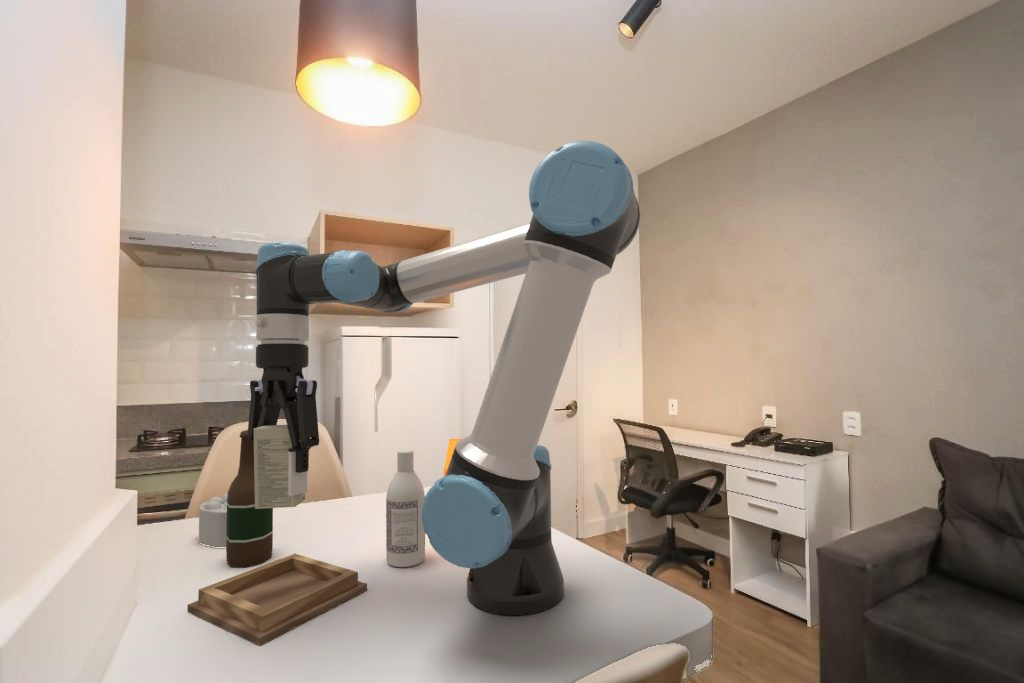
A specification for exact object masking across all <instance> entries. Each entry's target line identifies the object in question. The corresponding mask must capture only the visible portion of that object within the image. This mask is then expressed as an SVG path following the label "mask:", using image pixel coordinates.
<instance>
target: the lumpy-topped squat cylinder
mask: <svg viewBox="0 0 1024 683" xmlns="http://www.w3.org/2000/svg"><path fill="white" fill-rule="evenodd" d="M227 495H228V492H227V493H224V494H222V495H221V496H220V497H219V496H212V497H210V498H209V499H208V501H205V502H203V503H201V504H200V505H199V508H198V543H199V542H200V543H202V544H205V545H209V546H214V547H226V530H227Z"/></svg>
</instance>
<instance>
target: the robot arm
mask: <svg viewBox="0 0 1024 683" xmlns="http://www.w3.org/2000/svg"><path fill="white" fill-rule="evenodd" d="M633 182H634V181H633V177H632V174H631V172H630V169H629V167H628V166H627V165H626V163H625V161H624V160H623V159H622V158H621V156H620V155H619V154H618V153H617V152H616V151H615V150H614V149H612V148H611V147H609V146H607V145H605V144H604V143H601V142H596V141H593V140H576V141H571V142H569V143H565V144H563V145H561V146H559V147H558V148H556V149H554V150H552V151H550V152H549V153H548V154H546V156H544V158H542V159H541V161H540V162H539V163H538V165H537V166H536V168H535V170H534V171H533V173H532V176H531V178H530V183H529V188H528V199H529V206H530V210H531V212H532V217H531V220H530V222H527V223H522V224H519V225H517V226H514V227H509V228H507V229H504V230H501V231H497V232H493V233H490V234H487V235H483V236H481V237H477V238H473V239H471V240H467V241H464V242H461V243H457V244H453V245H450V246H447V247H444V248H441V249H437V250H435V251H433V250H432V251H431V252H428V253H424V254H420V255H418V256H413V257H411V258H406V259H405V260H404V259H403V260H401V261H398V262H395V263H391V264H387V265H379V264H377V263H376V261H375V260H374V259H372V258H371V257H372V256H371V255H370V254H369V253H367V252H366V251H362V250H346V249H345V250H344V249H343V250H340V251H338V250H337V251H334V252H327V253H326V252H325V253H317V254H310V253H309V250H308V249H307V248H306V247H305V246H303V245H301V244H297V243H294V242H293V243H292V242H267V243H264V244H262V245H260V246H259V248H258V250H257V259H256V260H257V261H256V268H255V276H256V321H255V325H256V334H255V335H256V338H255V339H256V340H257V341H258V342H260V344H257V345H256V346H255V367H256V368H258V369H263V373H262V376H261V379H259V380H258V379H257V380H256V379H255V380H250V382H249V389H250V390H249V392H250V400H249V401H250V404H249V415H248V426H247V430H248V434H247V440H248V441H249V442H251V441H252V442H254V428H258V427H261V426H266V425H278V420H279V416H280V414H281V409H282V411H283V412H284V418H285V421H286V422H285V423H286V425H287V427H288V431H289V435H290V440H291V444H292V448H290V449H288V451H289V452H288V496H294V495H298V494H301V493H305V494H306V493H308V472H309V461H310V460H309V459H310V458H309V456H310V454H309V453H310V449H311V448H313V447H317V446H319V445H320V436H319V435H320V434H319V425H318V424H319V422H318V410H317V408H318V407H317V399H316V395H317V388H318V382H317V380H315V379H313V380H307V379H305V377H304V374H303V369H305V368H307V367H308V366H309V350H310V349H309V346H308V345H307V344H305V342H308V341H309V340H310V321H309V320H310V319H309V318H310V314H309V313H310V312H309V311H310V305H315V304H316V305H317V304H342V305H347V306H353V307H359V308H366V309H370V310H374V311H375V310H376V311H379V312H383V313H387V314H388V313H389V314H390V313H403V312H405V311H407V310H409V309H410V308H411V306H412V305H413V304H416V303H419V302H423V301H427V300H431V299H434V298H439V297H442V296H446V295H450V294H454V293H457V292H461V291H464V290H468V289H472V288H476V287H480V286H483V285H487V284H491V283H496V282H498V281H502V280H507V279H510V278H514V277H517V276H522V275H524V274H525V275H524V278H523V281H522V284H521V287H520V289H519V293H518V296H517V299H516V301H515V305H514V308H513V310H512V313H511V315H510V316H511V317H510V320H509V322H508V324H507V325H508V326H507V328H506V331H505V334H504V337H503V340H502V343H501V346H500V349H499V352H498V355H497V357H496V360H495V364H494V366H493V370H492V372H491V376H490V378H489V380H488V381H489V382H488V384H487V388H486V391H485V393H484V396H483V400H482V403H481V406H480V408H479V411H478V414H477V417H476V420H475V423H474V426H473V429H472V431H471V433H470V434H469V435H468V436H465V437H464V438H460V439H461V440H459V441H458V442H457V443H456V446H455V449H454V452H453V454H452V457H451V460H450V463H449V466H448V469H447V472H446V475H445V477H444V476H442V477H441V478H439V479H438V480H436V481H435V482H434V483H433V485H432V486H431V487H430V488H429V490H428V491H427V492H426V494H425V498H424V501H423V505H422V524H423V528H424V532H425V535H426V536H427V538H428V541H429V544H430V545H431V547H432V548H433V550H434V551H435V552H436V553H437V554H438V555H439V556H440V557H441V558H442V559H444V560H445V561H447V562H449V563H450V564H451V565H454V566H457V567H459V568H464V569H469V571H468V574H467V578H466V596H467V599H468V600H469V602H470V603H471V604H472V605H473V606H474V607H476V608H478V609H480V610H482V611H485V612H488V613H491V614H495V615H505V616H525V615H532V614H537V613H541V612H543V611H544V612H545V611H546V610H549V609H551V608H553V607H554V606H556V605H557V604H559V603H560V601H562V599H563V597H564V596H565V595H564V594H565V592H564V590H565V589H564V588H565V586H564V585H565V584H564V576H563V572H562V569H561V566H560V563H559V560H558V556H557V555H556V551H555V548H554V545H553V542H552V491H551V490H552V488H551V487H552V486H551V481H552V480H551V470H552V463H551V458H550V451H549V450H548V448H547V447H546V446H544V445H540V444H539V440H540V439H541V435H542V432H543V430H544V426H545V423H546V421H547V419H548V415H549V412H550V409H551V406H552V404H553V401H554V398H555V395H556V392H557V389H558V387H559V383H560V380H561V378H562V375H563V372H564V370H565V369H564V368H565V366H566V363H567V360H568V358H569V354H570V352H571V349H572V346H573V342H574V340H575V337H576V335H577V332H578V329H579V327H580V324H581V320H582V318H583V314H584V312H585V309H586V306H587V304H588V300H589V297H590V295H591V291H592V289H593V286H594V284H595V282H596V281H598V280H599V279H601V278H602V277H605V276H606V275H609V274H610V273H611V271H612V268H613V266H614V262H615V261H616V257H617V255H619V254H621V253H622V252H624V250H625V249H627V248H628V247H629V246H630V245H631V243H632V242H633V240H634V238H635V237H636V235H637V233H638V230H639V227H640V220H641V211H640V205H639V201H638V199H637V196H636V193H635V190H634V183H633ZM299 440H300V442H299Z"/></svg>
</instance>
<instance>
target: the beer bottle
mask: <svg viewBox="0 0 1024 683" xmlns="http://www.w3.org/2000/svg"><path fill="white" fill-rule="evenodd" d="M247 434H248V429H246V430H243V431H241V432H240V433H239V438H240V440H241V441H240V451H239V452H240V454H239V464H238V469H237V471H238V472H237V475H236V476H235V478H234V479H233V480H232V481H231V484H230V486H229V488H228V491H227V493H228V495H227V530H226V548H225V552H226V553H225V554H226V562H227V564H228V565H229V567H230V568H248V567H254V566H257V565H261V564H263V563H264V562H266V561H268V560H269V559H271V558H272V556H273V543H274V542H273V541H274V540H273V537H274V536H273V535H274V534H273V533H274V532H273V530H274V529H273V528H274V525H273V524H274V518H273V517H274V508H263V509H255V483H254V442H252V441H251V442H249V441H248V440H247Z"/></svg>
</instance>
